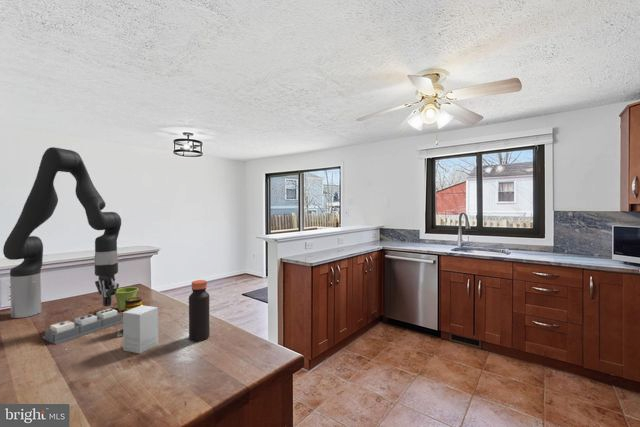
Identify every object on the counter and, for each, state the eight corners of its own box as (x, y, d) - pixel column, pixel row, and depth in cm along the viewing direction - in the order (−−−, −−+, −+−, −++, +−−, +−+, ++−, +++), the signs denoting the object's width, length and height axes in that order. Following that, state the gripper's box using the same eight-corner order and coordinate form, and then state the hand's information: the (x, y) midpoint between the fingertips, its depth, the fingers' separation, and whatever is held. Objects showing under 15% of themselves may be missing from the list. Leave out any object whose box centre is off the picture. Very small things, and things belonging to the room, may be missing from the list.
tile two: (74, 325, 110) (74, 317, 110) (90, 321, 115) (90, 313, 115) (81, 328, 108) (81, 319, 108) (97, 323, 112) (97, 315, 112)
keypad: (42, 338, 104) (42, 329, 104) (110, 317, 123) (110, 310, 123) (55, 344, 99) (55, 335, 99) (124, 321, 119) (124, 314, 119)
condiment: (144, 331, 110) (144, 299, 109) (117, 337, 105) (116, 303, 105) (143, 325, 116) (143, 294, 115) (117, 330, 111) (117, 298, 111)
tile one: (50, 333, 104) (50, 324, 104) (67, 328, 108) (67, 319, 108) (57, 336, 102) (56, 326, 101) (74, 330, 106) (74, 321, 106)
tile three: (96, 319, 117) (96, 311, 117) (110, 315, 121) (110, 307, 121) (103, 321, 114) (103, 313, 114) (117, 317, 119) (117, 309, 119)
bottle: (213, 335, 107) (213, 280, 106) (198, 343, 101) (198, 285, 100) (199, 332, 110) (199, 278, 109) (184, 339, 104) (184, 282, 103)
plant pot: (133, 304, 140) (132, 285, 140) (142, 308, 135) (142, 289, 135) (110, 309, 133) (110, 290, 133) (118, 314, 127) (118, 294, 127)
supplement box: (159, 344, 100) (159, 307, 100) (139, 354, 93) (139, 314, 93) (142, 340, 102) (142, 304, 102) (122, 350, 95) (122, 311, 95)
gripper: (86, 262, 117) (87, 306, 117) (105, 265, 111) (106, 311, 111) (107, 259, 123) (108, 300, 124) (126, 262, 117) (126, 305, 118)
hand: (107, 305), depth 118 cm, fingers closed
